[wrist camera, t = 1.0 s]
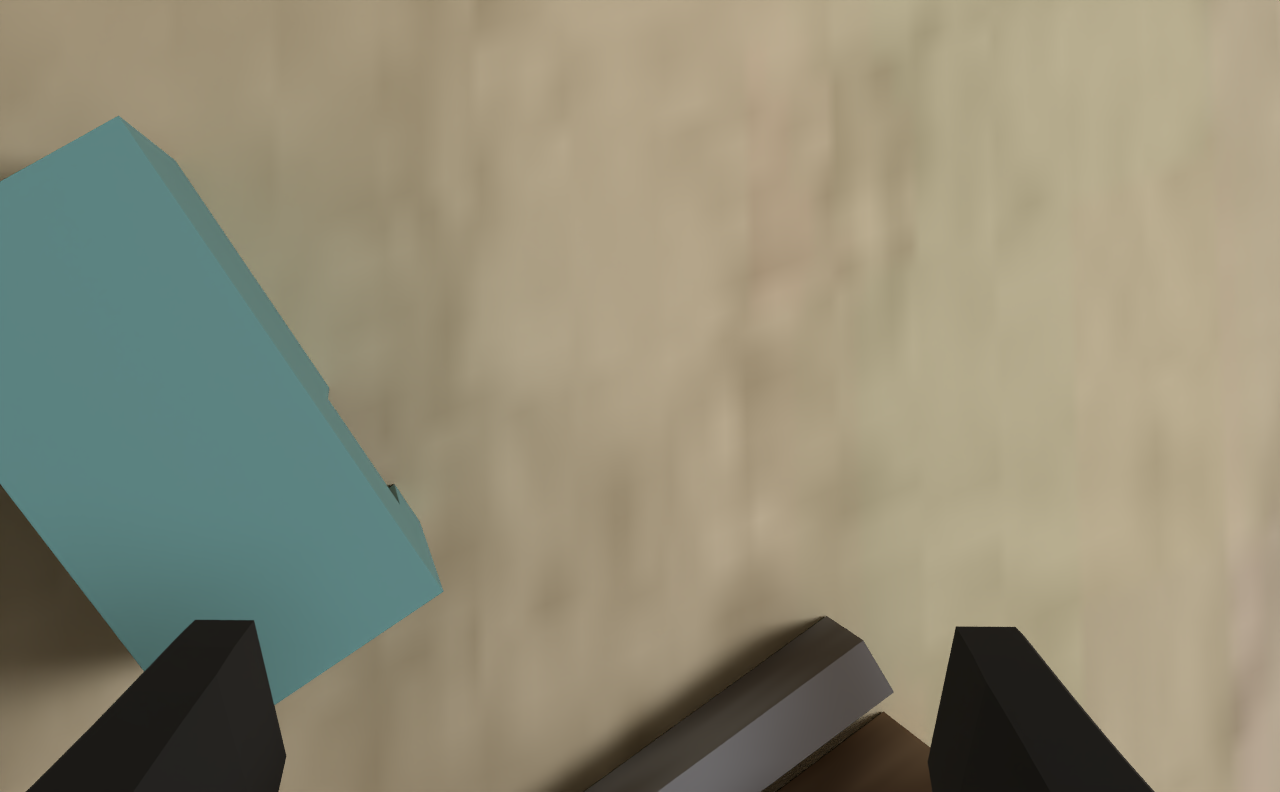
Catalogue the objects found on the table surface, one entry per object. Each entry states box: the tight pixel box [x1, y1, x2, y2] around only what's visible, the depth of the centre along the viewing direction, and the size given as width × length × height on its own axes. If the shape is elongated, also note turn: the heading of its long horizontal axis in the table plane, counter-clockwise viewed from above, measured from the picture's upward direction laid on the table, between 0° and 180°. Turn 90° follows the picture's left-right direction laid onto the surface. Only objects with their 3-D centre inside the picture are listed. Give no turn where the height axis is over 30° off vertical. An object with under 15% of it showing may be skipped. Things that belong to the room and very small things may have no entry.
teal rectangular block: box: [0, 116, 443, 705], centre depth 20 cm, size 4×9×6 cm, turn 32°
